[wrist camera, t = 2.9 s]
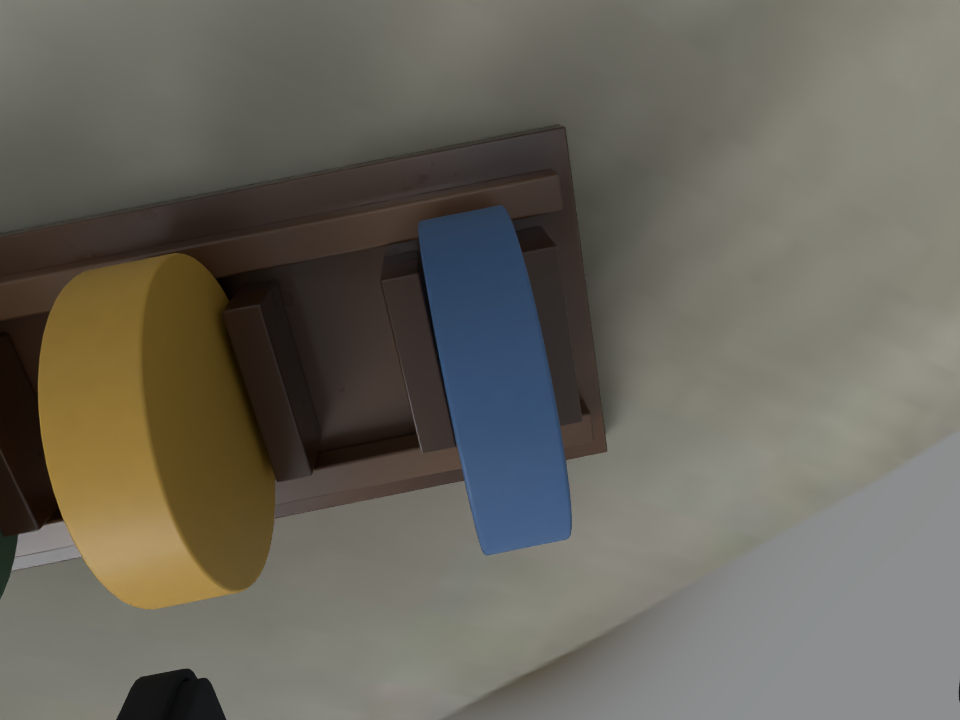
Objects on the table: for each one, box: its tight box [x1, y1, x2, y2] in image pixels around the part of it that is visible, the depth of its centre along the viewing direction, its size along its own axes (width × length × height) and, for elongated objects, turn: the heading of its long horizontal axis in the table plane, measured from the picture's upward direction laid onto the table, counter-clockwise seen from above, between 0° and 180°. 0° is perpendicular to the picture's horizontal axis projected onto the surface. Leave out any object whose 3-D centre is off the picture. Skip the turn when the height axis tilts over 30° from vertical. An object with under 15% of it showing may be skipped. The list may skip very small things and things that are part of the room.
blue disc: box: [418, 205, 572, 555], centre depth 18 cm, size 2×8×8 cm, turn 10°
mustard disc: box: [38, 253, 275, 609], centre depth 18 cm, size 2×8×8 cm, turn 10°
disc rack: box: [0, 125, 607, 571], centre depth 21 cm, size 22×10×3 cm, turn 100°
